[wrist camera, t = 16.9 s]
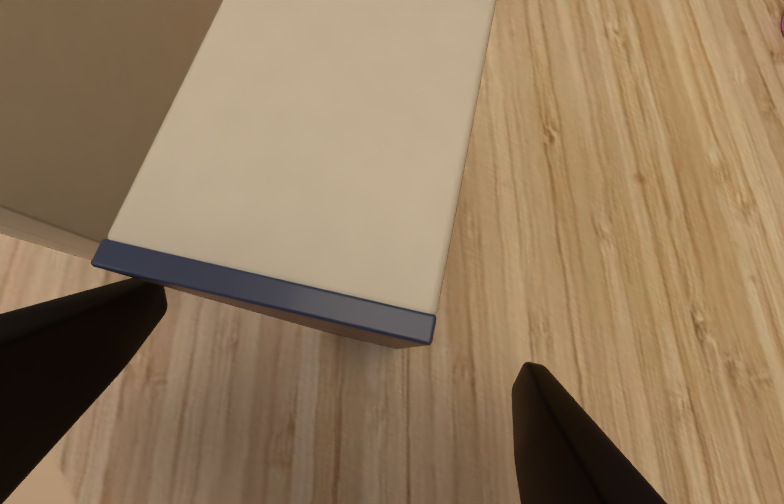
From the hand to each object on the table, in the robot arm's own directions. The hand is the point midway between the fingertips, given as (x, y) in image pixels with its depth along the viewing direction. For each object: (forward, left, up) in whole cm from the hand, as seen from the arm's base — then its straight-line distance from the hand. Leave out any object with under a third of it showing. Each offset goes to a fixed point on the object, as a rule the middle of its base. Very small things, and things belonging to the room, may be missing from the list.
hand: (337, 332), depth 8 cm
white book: (+4, +2, -8) cm, 9 cm away
